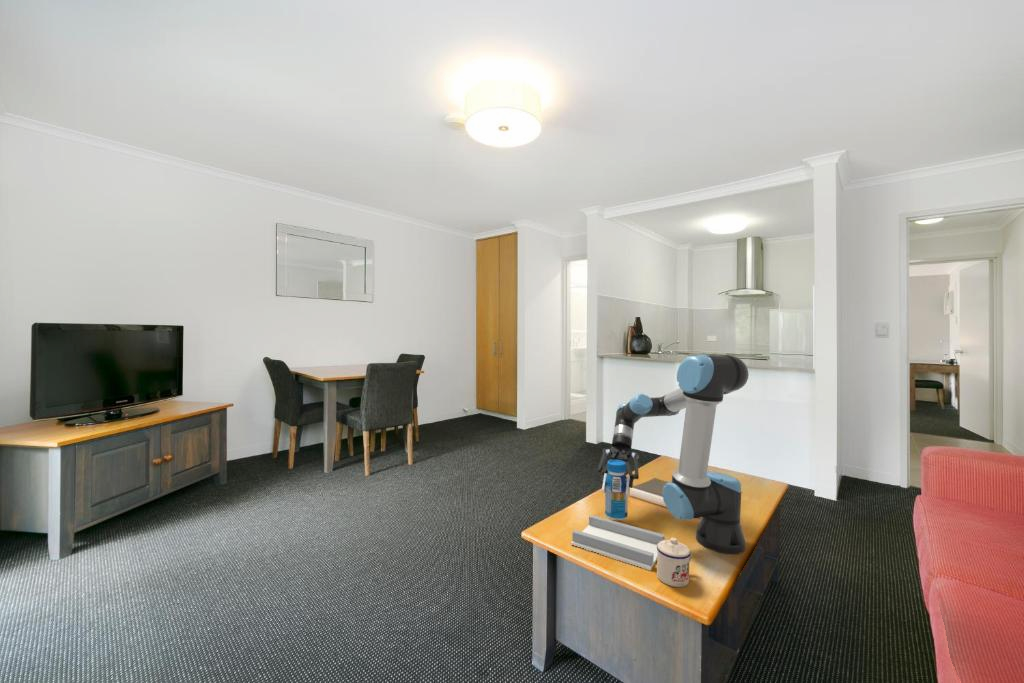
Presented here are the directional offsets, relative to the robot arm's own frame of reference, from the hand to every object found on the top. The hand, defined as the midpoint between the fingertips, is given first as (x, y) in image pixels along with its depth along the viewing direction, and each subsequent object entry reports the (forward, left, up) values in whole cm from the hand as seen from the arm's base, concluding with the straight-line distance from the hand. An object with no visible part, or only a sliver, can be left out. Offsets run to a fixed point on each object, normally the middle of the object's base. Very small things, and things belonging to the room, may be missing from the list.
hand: (615, 493), depth 152 cm
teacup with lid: (-26, +20, -13) cm, 35 cm away
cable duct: (-6, +12, -13) cm, 18 cm away
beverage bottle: (+1, -3, -10) cm, 10 cm away
